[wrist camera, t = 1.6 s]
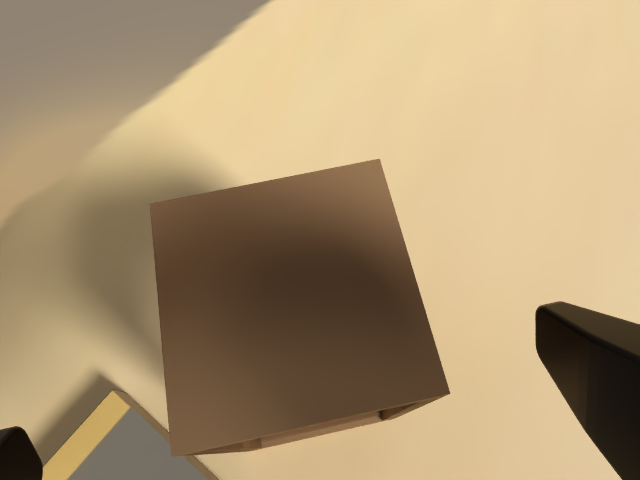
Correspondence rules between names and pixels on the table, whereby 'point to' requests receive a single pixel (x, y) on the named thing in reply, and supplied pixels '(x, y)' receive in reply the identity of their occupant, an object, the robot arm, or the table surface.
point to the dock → (121, 448)
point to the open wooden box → (289, 312)
